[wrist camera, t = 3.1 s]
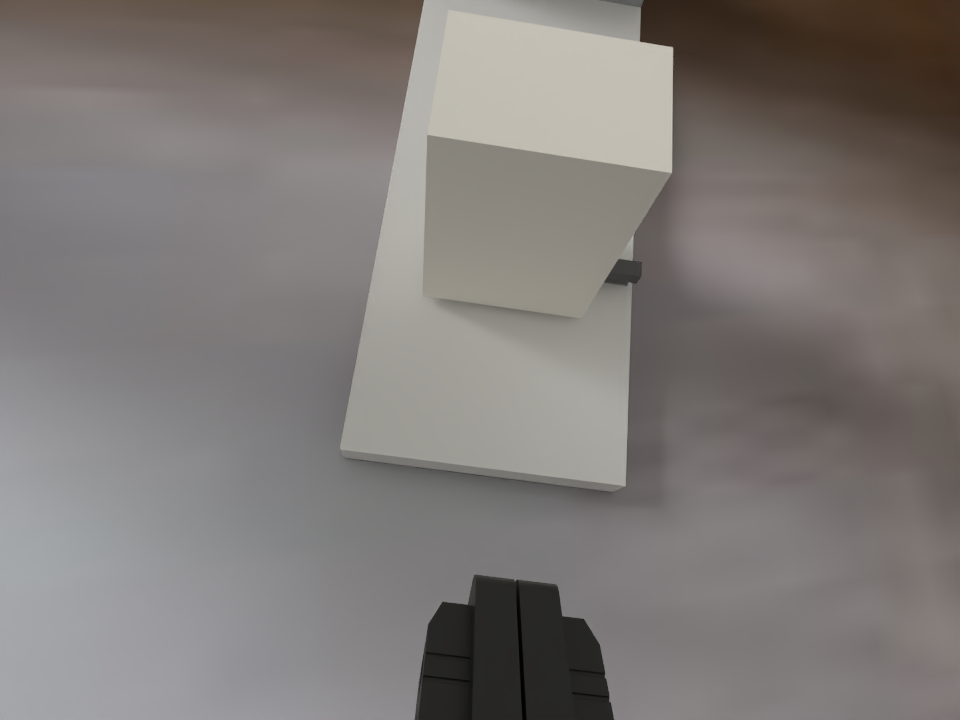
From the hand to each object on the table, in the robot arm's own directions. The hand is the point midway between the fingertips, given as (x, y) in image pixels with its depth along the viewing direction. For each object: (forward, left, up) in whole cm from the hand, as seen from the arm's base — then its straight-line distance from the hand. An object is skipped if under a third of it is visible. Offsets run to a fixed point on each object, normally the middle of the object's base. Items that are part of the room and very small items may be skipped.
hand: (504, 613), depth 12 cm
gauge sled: (+1, +13, -9) cm, 16 cm away
